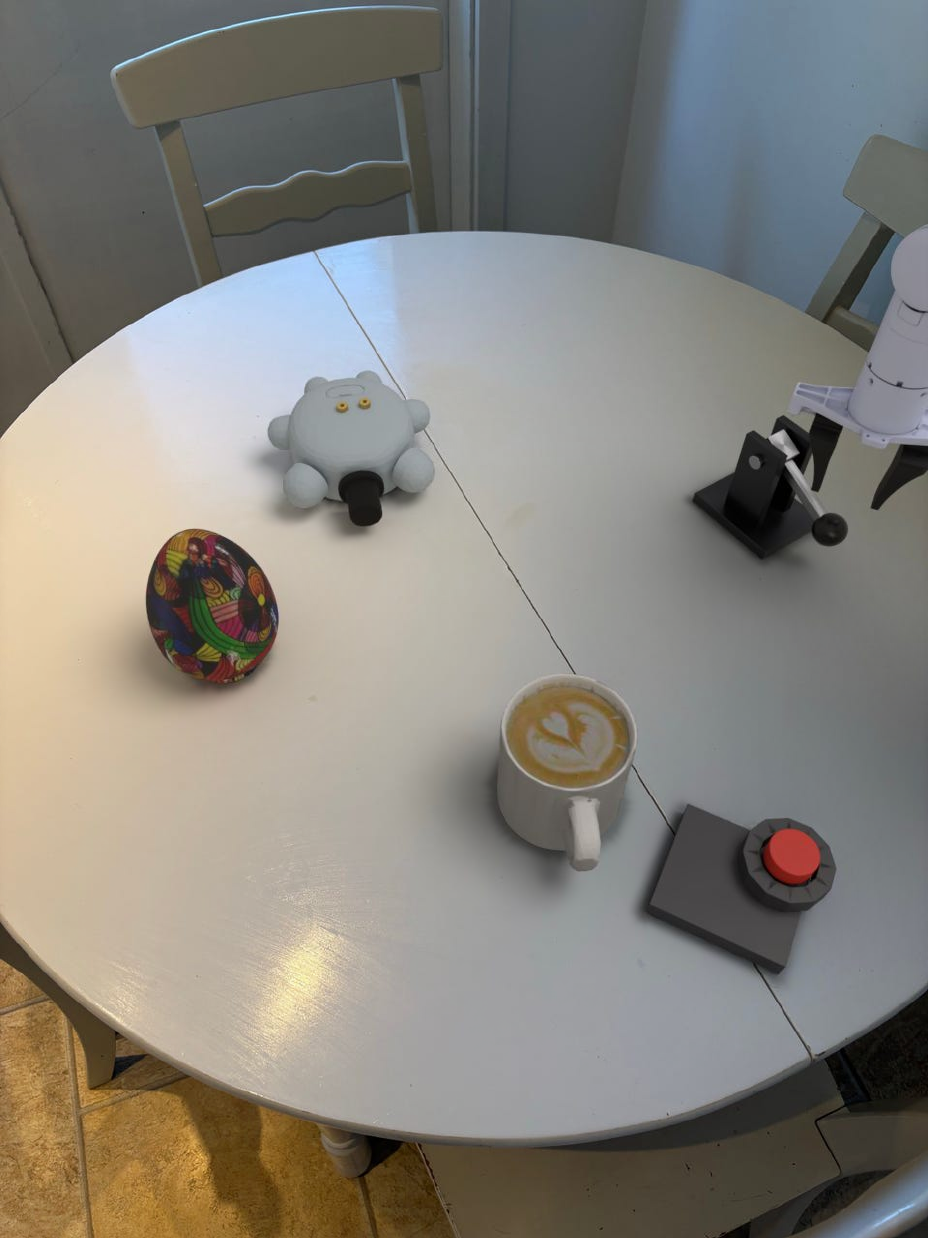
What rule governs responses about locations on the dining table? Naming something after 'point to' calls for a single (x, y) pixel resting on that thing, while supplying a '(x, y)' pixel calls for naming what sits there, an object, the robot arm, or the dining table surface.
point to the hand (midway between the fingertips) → (846, 493)
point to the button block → (736, 887)
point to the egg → (210, 607)
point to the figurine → (352, 445)
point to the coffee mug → (565, 763)
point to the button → (791, 856)
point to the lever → (810, 496)
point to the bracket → (761, 493)
